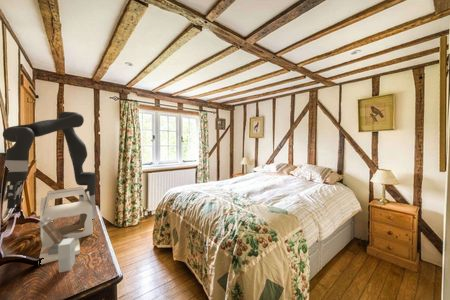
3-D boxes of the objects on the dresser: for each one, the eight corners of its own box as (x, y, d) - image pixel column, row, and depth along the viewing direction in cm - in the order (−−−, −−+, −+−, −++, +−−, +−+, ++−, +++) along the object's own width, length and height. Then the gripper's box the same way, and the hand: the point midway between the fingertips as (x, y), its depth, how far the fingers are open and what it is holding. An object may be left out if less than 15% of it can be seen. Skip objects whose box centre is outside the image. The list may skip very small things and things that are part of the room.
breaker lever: (61, 241, 101) (43, 218, 98) (66, 238, 101) (48, 216, 99) (56, 246, 96) (37, 223, 93) (61, 243, 96) (42, 220, 93)
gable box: (42, 248, 102) (41, 195, 100) (40, 239, 110) (38, 190, 109) (93, 234, 118) (92, 187, 116) (87, 227, 127) (86, 184, 125)
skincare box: (63, 264, 89) (63, 238, 89) (75, 262, 91) (74, 237, 90) (58, 273, 84) (57, 245, 83) (70, 270, 85) (69, 243, 85)
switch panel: (41, 250, 100) (41, 239, 99) (78, 241, 109) (78, 231, 109) (38, 265, 89) (38, 252, 88) (80, 253, 98) (79, 241, 98)
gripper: (24, 171, 87) (21, 208, 86) (30, 169, 98) (27, 202, 97) (-1, 171, 82) (-5, 211, 81) (8, 169, 94) (5, 204, 93)
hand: (13, 206), depth 89 cm, fingers open, 8 cm apart
